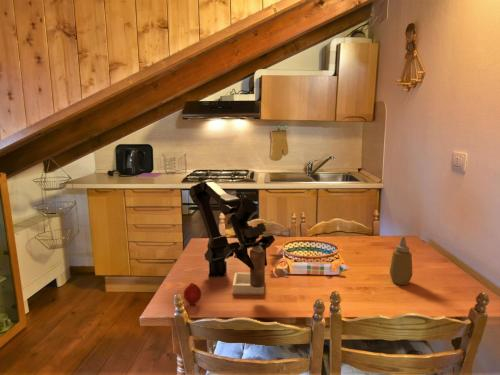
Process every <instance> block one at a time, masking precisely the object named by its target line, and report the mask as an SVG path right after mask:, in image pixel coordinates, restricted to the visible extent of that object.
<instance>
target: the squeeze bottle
mask: <svg viewBox="0 0 500 375" xmlns="http://www.w3.org/2000/svg"><path fill="white" fill-rule="evenodd" d="M391 255H392V256H391V260H390V261H391V262H390V267H389V275H390V278H391V281H392V283H394V284H395V285H399V286H408V285H409V283H410V281H411V279H412V277H413V259H412V258H413V257H412V253H411V252H410V246H409V245H407V241H406V236H401V237H400V240H399V244H396V245H395V249H394V251H393V252H392V254H391Z"/></svg>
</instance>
